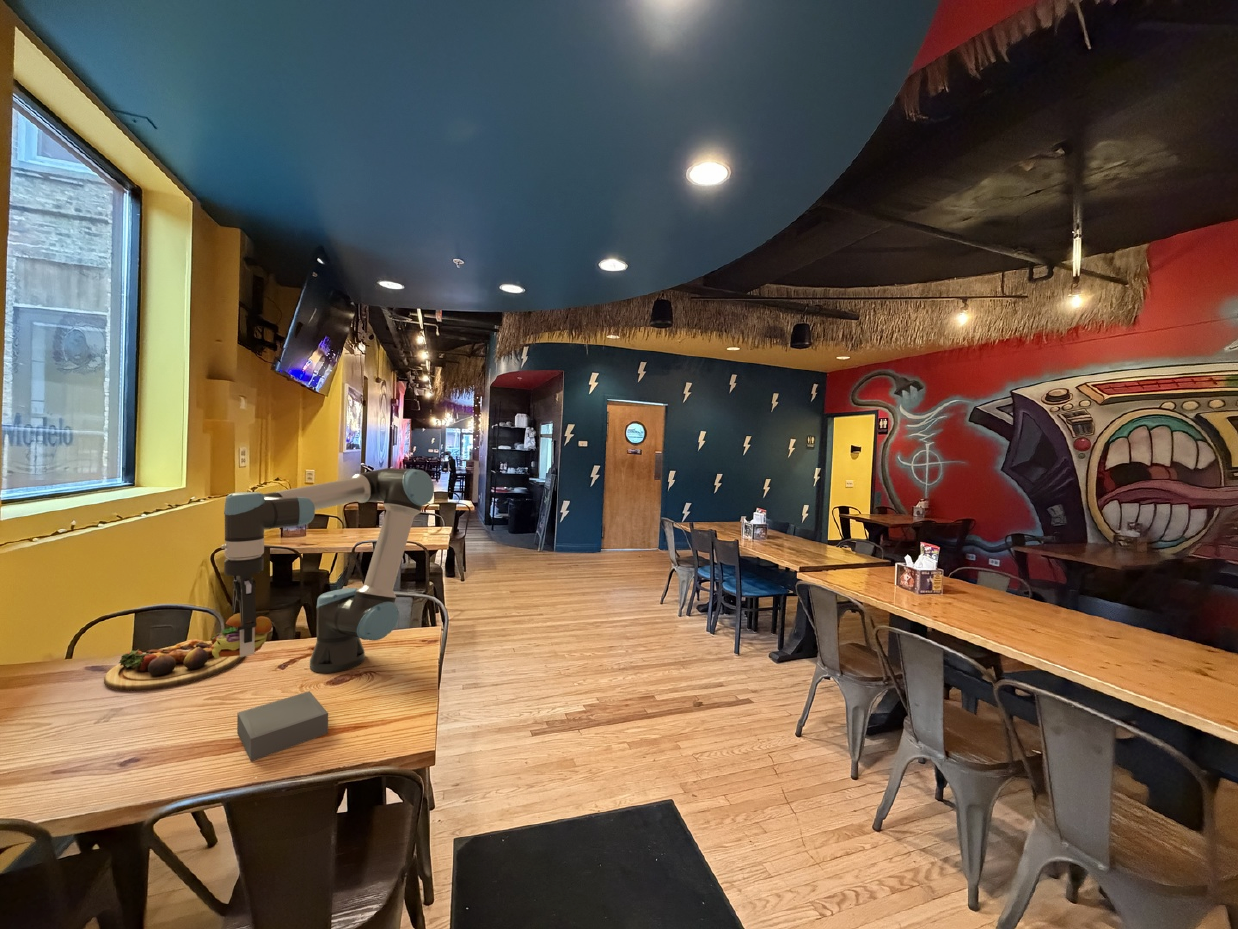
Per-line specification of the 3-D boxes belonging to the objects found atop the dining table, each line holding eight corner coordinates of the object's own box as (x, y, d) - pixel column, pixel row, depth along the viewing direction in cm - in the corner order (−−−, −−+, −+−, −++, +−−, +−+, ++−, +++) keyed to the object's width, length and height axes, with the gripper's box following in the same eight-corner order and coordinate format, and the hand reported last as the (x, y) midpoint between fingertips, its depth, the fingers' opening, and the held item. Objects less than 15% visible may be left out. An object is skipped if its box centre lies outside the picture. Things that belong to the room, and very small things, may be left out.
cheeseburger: (201, 654, 114) (214, 610, 116) (252, 650, 123) (263, 609, 125) (220, 663, 109) (233, 618, 111) (272, 658, 118) (283, 616, 120)
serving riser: (309, 710, 127) (309, 691, 126) (327, 733, 116) (328, 713, 116) (237, 733, 116) (237, 712, 115) (250, 761, 105) (250, 739, 105)
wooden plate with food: (220, 640, 171) (220, 616, 171) (263, 662, 155) (263, 636, 155) (89, 674, 144) (89, 646, 144) (124, 705, 127) (124, 674, 127)
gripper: (218, 551, 122) (218, 638, 123) (230, 567, 106) (230, 668, 107) (255, 547, 127) (255, 631, 128) (272, 562, 111) (271, 658, 112)
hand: (243, 648), depth 117 cm, fingers closed on cheeseburger, 10 cm apart
